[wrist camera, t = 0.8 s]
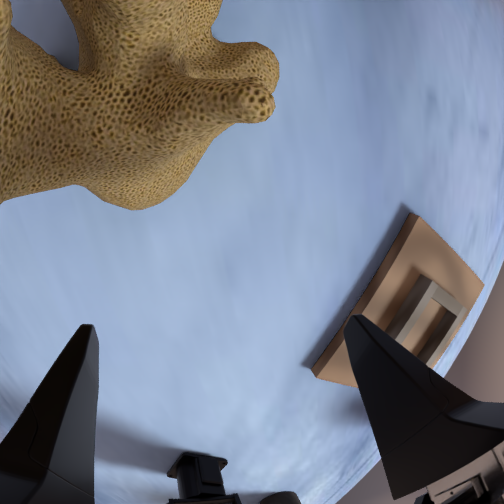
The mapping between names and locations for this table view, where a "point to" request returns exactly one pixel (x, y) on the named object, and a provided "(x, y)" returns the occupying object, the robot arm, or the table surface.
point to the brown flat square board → (410, 300)
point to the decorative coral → (125, 99)
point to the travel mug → (282, 498)
